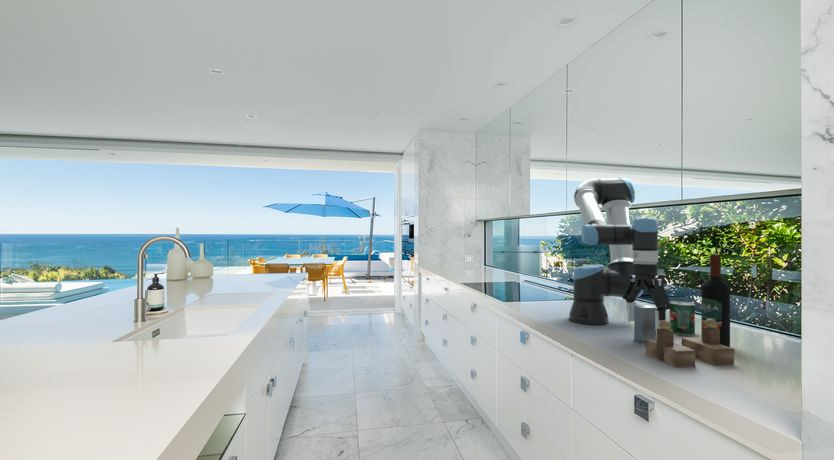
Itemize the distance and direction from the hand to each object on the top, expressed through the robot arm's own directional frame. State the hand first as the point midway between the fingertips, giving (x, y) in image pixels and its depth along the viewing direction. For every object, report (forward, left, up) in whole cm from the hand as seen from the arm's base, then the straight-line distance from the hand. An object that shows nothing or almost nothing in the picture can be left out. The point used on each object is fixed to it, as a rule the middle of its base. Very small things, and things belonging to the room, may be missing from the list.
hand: (645, 325), depth 132 cm
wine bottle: (+7, +20, -6) cm, 22 cm away
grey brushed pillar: (0, 0, -6) cm, 6 cm away
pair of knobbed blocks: (+18, 0, -6) cm, 19 cm away
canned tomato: (-9, +22, -6) cm, 25 cm away
